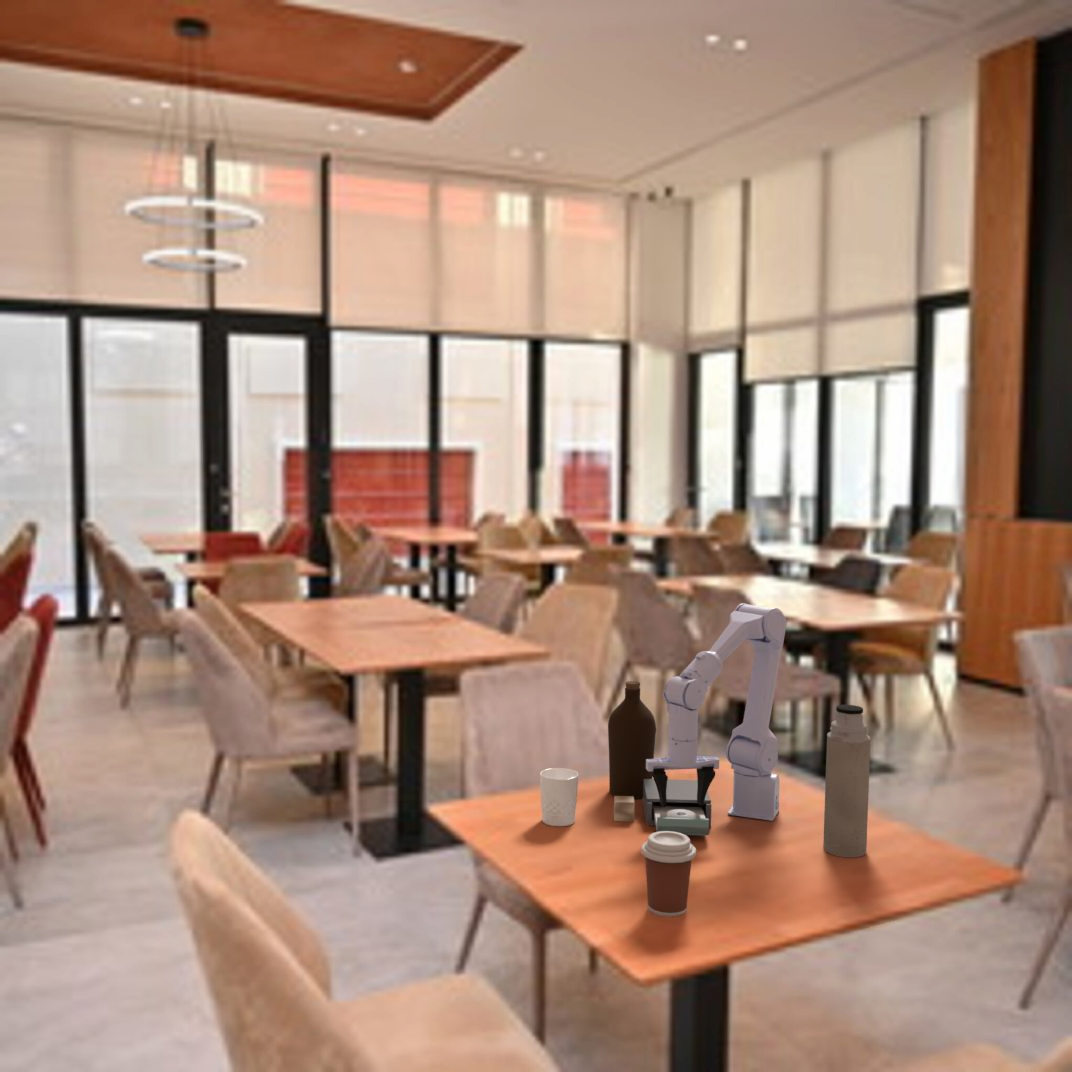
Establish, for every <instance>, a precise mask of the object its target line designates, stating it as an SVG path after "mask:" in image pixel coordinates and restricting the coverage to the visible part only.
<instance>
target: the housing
mask: <svg viewBox="0 0 1072 1072" xmlns="http://www.w3.org/2000/svg"><path fill="white" fill-rule="evenodd" d="M697 788H698V780H697V779H670V778H668V780H667V788H666V801H667V803H666V806H675V807H702V809H703V812H704V815H705V818H707V819H709V828H711V827H712V800H711V796H710V794H709V791H708V790H707V793H706V796H705V800H704V805H699V804H698V802H697ZM642 805H643V811H644V815H645V823H646V826H655V820H654V815H653V806H661V804H660V798H659V793H658V790H657V786H656V783H655V781H654V778H652V779H643V798H642Z"/></svg>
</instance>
